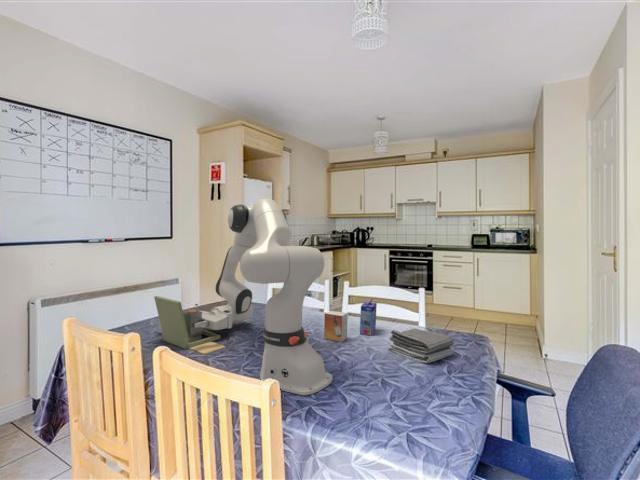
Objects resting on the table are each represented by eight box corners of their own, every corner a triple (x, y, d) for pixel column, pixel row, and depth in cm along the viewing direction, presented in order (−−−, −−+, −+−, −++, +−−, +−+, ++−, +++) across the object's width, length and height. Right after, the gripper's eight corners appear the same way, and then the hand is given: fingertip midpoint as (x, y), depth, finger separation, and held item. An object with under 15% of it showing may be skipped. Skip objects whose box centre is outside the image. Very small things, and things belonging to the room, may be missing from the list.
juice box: (372, 336, 139) (373, 301, 139) (359, 334, 141) (359, 300, 141) (376, 329, 149) (376, 296, 148) (364, 328, 150) (364, 295, 150)
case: (220, 338, 135) (220, 294, 134) (178, 351, 121) (178, 302, 120) (195, 330, 145) (195, 289, 145) (154, 341, 131) (154, 296, 130)
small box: (323, 339, 135) (323, 313, 135) (329, 335, 140) (330, 310, 140) (342, 342, 131) (342, 315, 131) (347, 338, 136) (347, 312, 136)
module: (202, 339, 134) (201, 310, 134) (190, 342, 130) (190, 312, 130) (194, 336, 137) (194, 308, 137) (183, 340, 133) (183, 310, 133)
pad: (225, 347, 125) (225, 346, 125) (204, 354, 118) (204, 353, 118) (211, 342, 130) (211, 341, 130) (189, 349, 123) (190, 347, 123)
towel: (429, 367, 109) (430, 343, 109) (385, 350, 123) (386, 329, 123) (454, 356, 118) (455, 334, 118) (411, 342, 133) (411, 322, 133)
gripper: (204, 306, 149) (175, 312, 138) (234, 313, 137) (204, 320, 126) (204, 320, 150) (175, 327, 138) (234, 328, 137) (204, 337, 126)
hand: (189, 324), depth 132 cm, fingers closed on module, 5 cm apart
